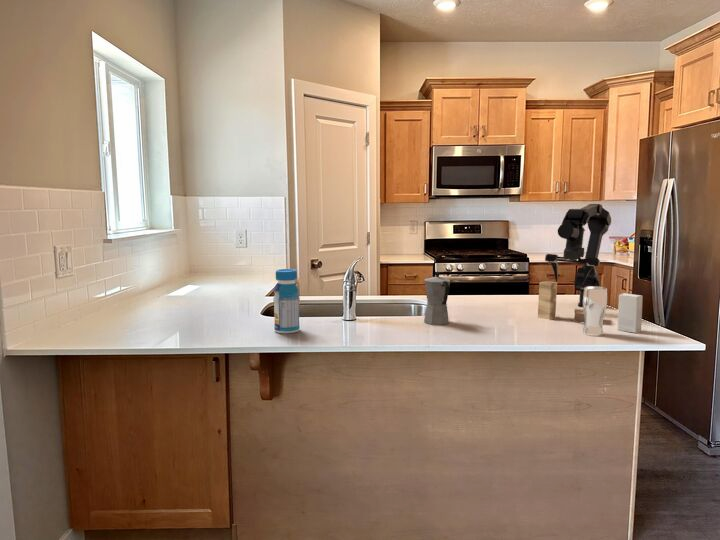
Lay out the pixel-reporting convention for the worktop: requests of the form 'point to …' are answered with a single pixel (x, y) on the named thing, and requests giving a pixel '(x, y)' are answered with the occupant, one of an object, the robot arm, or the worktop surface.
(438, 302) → the coffeepot
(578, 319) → the square wooden tray
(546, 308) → the pillar block
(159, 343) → the worktop surface
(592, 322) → the beer glass
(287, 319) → the beverage bottle
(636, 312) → the skincare box
